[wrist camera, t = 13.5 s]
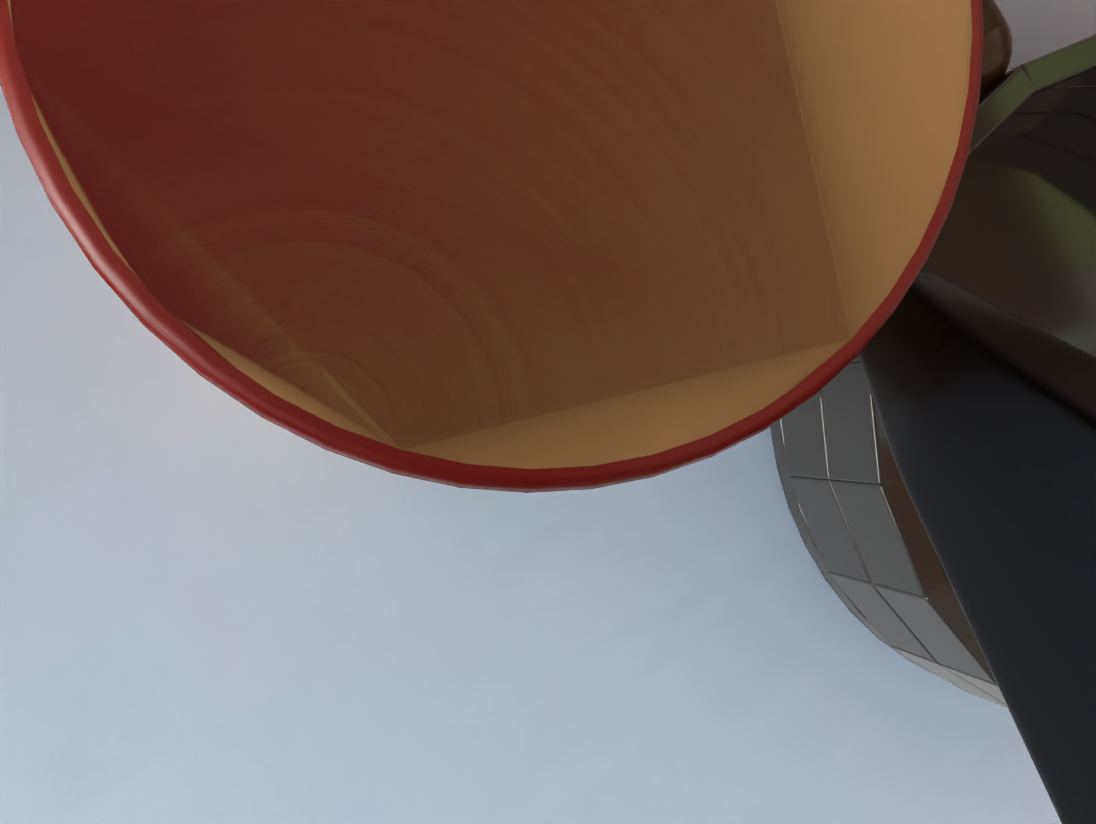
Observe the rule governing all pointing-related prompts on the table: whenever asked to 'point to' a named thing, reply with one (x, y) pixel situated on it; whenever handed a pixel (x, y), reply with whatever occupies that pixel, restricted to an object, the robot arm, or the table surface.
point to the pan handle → (994, 45)
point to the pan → (997, 276)
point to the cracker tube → (503, 208)
